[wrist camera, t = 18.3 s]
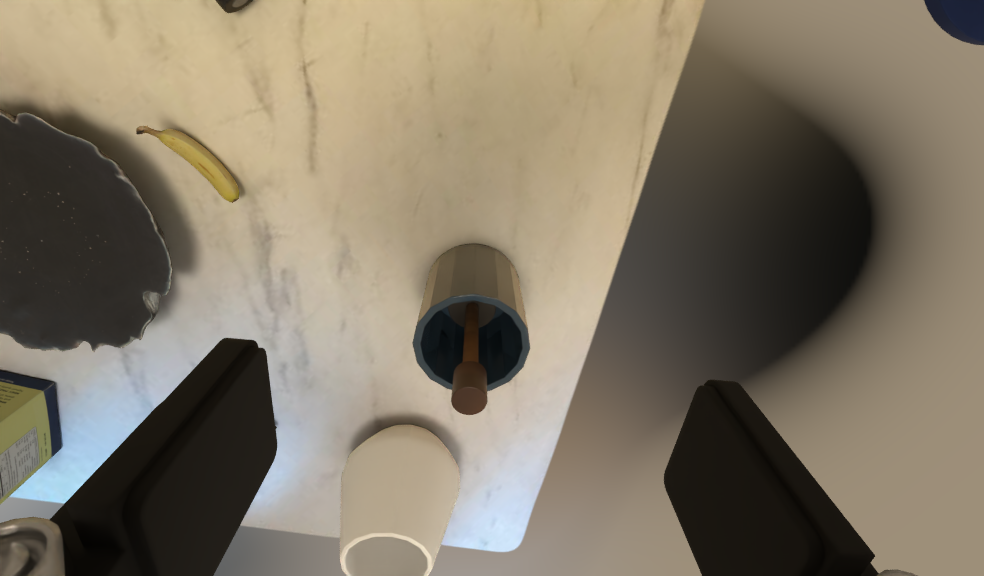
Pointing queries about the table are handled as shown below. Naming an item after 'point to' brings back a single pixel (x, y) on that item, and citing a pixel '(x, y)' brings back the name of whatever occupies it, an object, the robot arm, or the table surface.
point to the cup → (396, 503)
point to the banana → (198, 160)
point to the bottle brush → (470, 357)
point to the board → (73, 242)
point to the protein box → (25, 429)
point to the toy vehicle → (233, 4)
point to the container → (500, 341)
